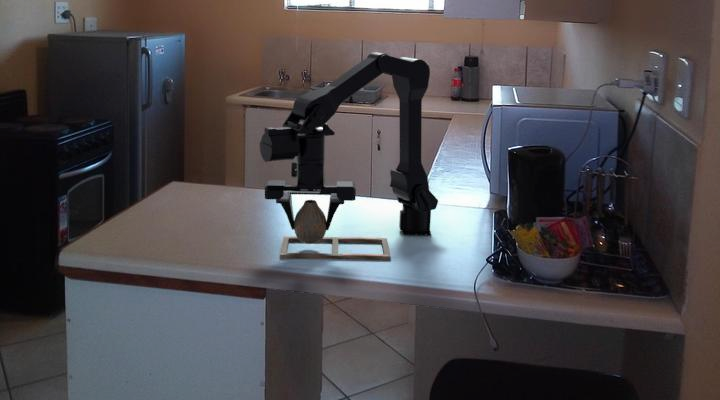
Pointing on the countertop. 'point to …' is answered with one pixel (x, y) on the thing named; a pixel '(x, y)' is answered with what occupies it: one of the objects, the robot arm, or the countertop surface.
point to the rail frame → (335, 249)
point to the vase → (310, 223)
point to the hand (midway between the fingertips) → (310, 229)
